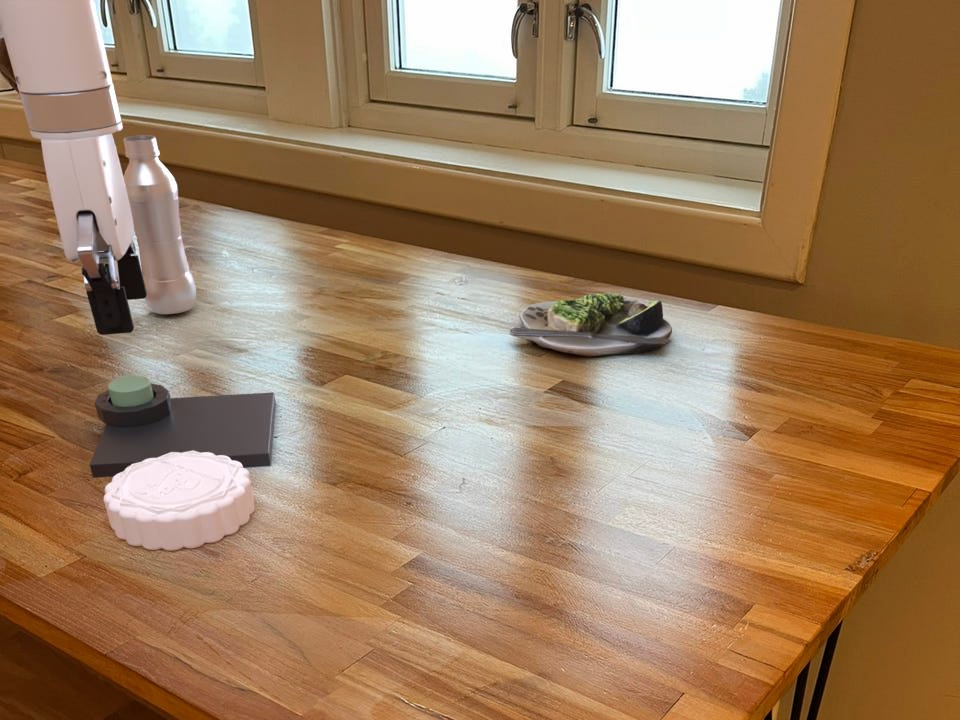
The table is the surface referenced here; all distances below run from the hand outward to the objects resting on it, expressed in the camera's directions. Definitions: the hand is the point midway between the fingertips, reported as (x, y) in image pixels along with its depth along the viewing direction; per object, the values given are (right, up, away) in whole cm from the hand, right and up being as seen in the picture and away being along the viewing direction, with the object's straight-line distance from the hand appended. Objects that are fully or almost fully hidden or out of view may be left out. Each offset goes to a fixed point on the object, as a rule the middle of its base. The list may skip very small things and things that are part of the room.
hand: (124, 315), depth 92 cm
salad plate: (+48, +6, +25) cm, 55 cm away
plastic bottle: (-5, +11, +32) cm, 34 cm away
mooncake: (+9, -20, -9) cm, 24 cm away
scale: (+6, -11, +2) cm, 13 cm away
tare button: (0, -7, +3) cm, 8 cm away
